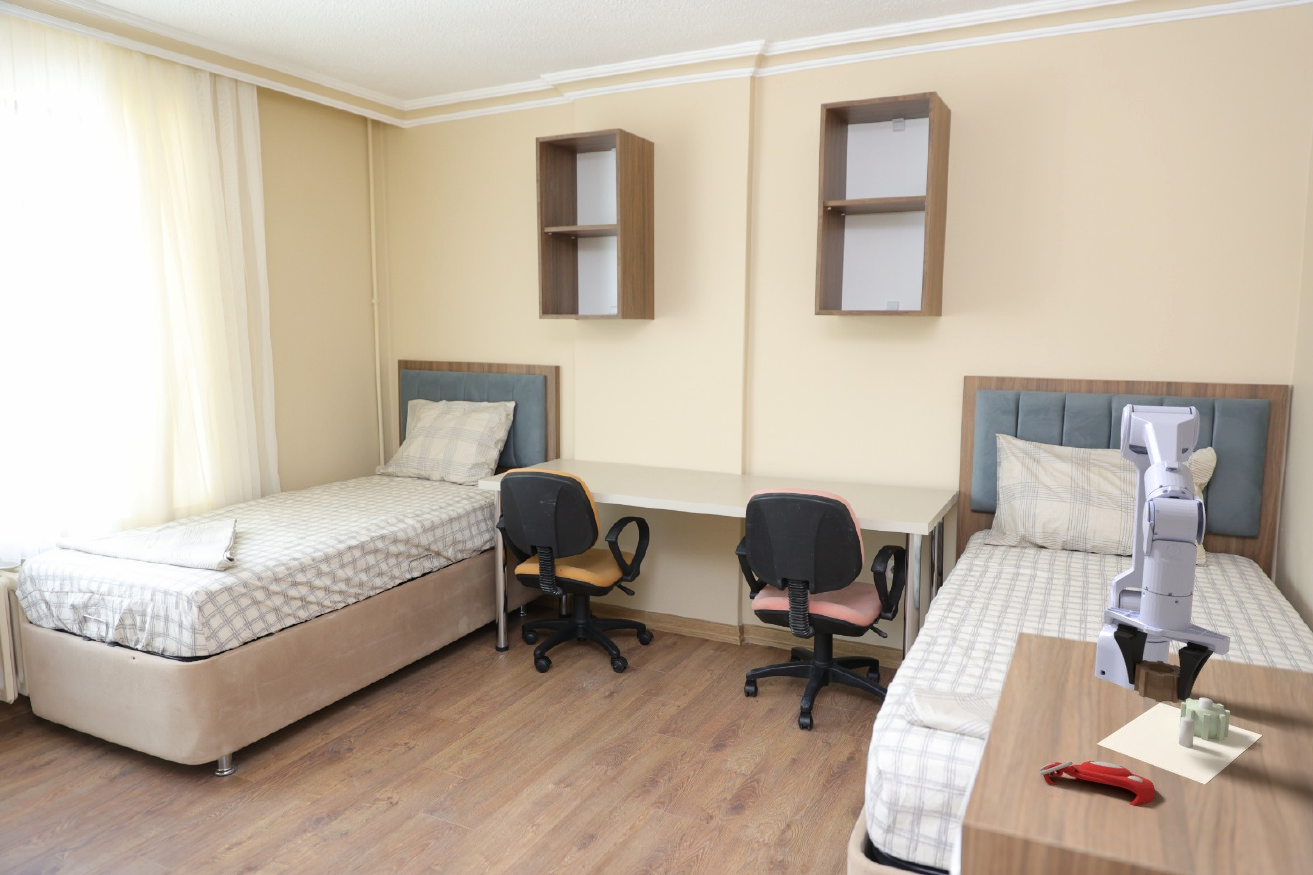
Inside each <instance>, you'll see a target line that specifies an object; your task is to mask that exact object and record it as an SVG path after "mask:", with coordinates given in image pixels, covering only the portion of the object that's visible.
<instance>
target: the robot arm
mask: <svg viewBox="0 0 1313 875" xmlns="http://www.w3.org/2000/svg"><path fill="white" fill-rule="evenodd" d="M1200 423H1201V420H1200V412H1199V410H1198V409H1197V408H1196V407H1195V406H1165V405H1163V406H1160V405H1139V404H1138V405H1137V404H1136V405H1135V404H1131V403H1128V404H1126V405H1125V406H1123V409H1122V414H1121V426H1120V452H1121V457H1122V458H1123V459H1125V460H1127V461H1130V462H1132V463H1133V467H1134V471H1135V474H1136V485H1135V487H1136V488H1135V499H1134V500H1135V504H1134V518H1133V519H1134V521H1133V539H1132V540H1133V541H1132V558H1131V559H1132V560H1131V567H1130V568H1129V569H1126V570H1125V571H1123V572H1121V573H1119V574H1117V575H1115V576H1114V577H1113V579H1112V580H1111V582H1110V591H1109V595H1108V606H1107V607H1108V608H1107V607H1106V608H1105V609H1104V610H1103V624H1106V625H1105V626H1103V628H1102V629H1101V631H1100V632H1099V635H1098V639H1097V642H1096V655H1095V668H1094V677H1095V678H1097V679H1101V680H1103V681H1107V682H1110V683H1112V684H1116V685H1118V686H1120V687H1122V688H1123V689H1124V688H1125V689H1127V690H1131V691H1134V692H1138V693H1139V691H1136V690H1134V685H1135V672H1136V663H1138V664H1141V660H1147V661H1156V662H1157V660H1158V661H1163V663H1167V664H1169V657H1170V656H1169V655H1170V645H1171V644H1170V643H1171V642H1173V641H1175V642H1179V643H1183V644H1186V645H1185V646H1183V647H1181V648H1179V649H1178V661H1179V667H1180V679H1179V687H1178V699H1179V701H1180V700H1181V701H1182V702H1184V701H1185V702H1186V699H1188V698H1190V697H1191V695H1192V691H1193V688H1194V685H1195V683H1196V680H1197V678H1198V676H1199V674H1200V672H1201V671H1202V669H1203V668H1204V666H1205V664H1206V663H1207V662H1208V660H1209V659H1210V658H1211V657H1212V655H1213V654H1217V655H1220V656H1224V655H1226V654H1227V653H1229V652H1230V646H1231V645H1230V644H1231V637H1230V636H1229V635H1224V634H1222V633H1217V632H1215V631H1213V630H1210V629H1207V628H1204V627H1202V626H1199V625H1196V624H1193V623H1191V622H1192V620H1191V619H1192V610H1193V600H1194V599H1193V598H1194V586H1195V576H1196V568H1197V567H1196V565H1197V554H1198V546H1201V544H1202V542H1203V539H1204V535H1205V532H1206V511H1205V510H1206V509H1205V504H1204V500H1203V499H1202V498H1201V496H1198V495H1196V489H1195V481H1194V475H1193V472H1192V471H1191V469H1190V467H1189V466H1187V465H1185V462H1186V463H1187V462H1188V461H1189V459H1190V457H1191V456H1192V455H1193V453H1194V450H1195V447H1196V446H1197V444H1198V441H1199V435H1200ZM1196 543H1197V545H1198V546H1197V545H1196ZM1127 588H1136V589H1141V590H1133V589H1127Z"/></svg>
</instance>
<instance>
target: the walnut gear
mask: <svg viewBox="0 0 1313 875" xmlns="http://www.w3.org/2000/svg"><path fill="white" fill-rule="evenodd" d="M1179 679H1180V665H1176V664H1174V665H1173V664H1170V663H1168V664H1167V663H1163V661H1158V660H1157V662H1156V661H1147V660H1141V664H1138V663H1136V672H1135V685H1134V690H1136V691H1135V692H1138V691H1139V692H1138V696H1140V697H1142V698H1148V699H1151V700H1154V701H1155V702H1158V703H1163V702H1171V703H1173V704H1177V703H1179V702H1180V699H1178V687H1179ZM1134 690H1133V691H1134Z"/></svg>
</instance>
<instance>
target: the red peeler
mask: <svg viewBox="0 0 1313 875" xmlns="http://www.w3.org/2000/svg"><path fill="white" fill-rule="evenodd" d="M1039 771H1040V772H1039V775H1040V776H1043V777H1044V780H1045V781H1046V782H1047V784H1049V785H1053V786H1057V785H1058V784H1057V783H1055V782H1054V781H1053V780H1052V778H1051V777H1050V775H1051V776H1053V777H1058V778H1059V777H1060V778H1061V777H1062V776H1064V774H1065V775H1067V776H1070V777H1072V778H1075V779H1080V780H1084V781H1088V782H1094V783H1098V784H1105V785H1110V786H1113V787H1120V788H1123V789H1126V790H1129V791H1131V792H1132V793H1134V794H1135V795H1136V796H1135V798H1134V799H1133V801H1131V802H1129V803H1128V804H1129V805H1131V806H1133V807H1134V806H1140V805H1145V804H1149V803H1152V802H1153V800H1154V798H1155V795H1156V794H1155V793H1156V789H1155V788H1156V787H1155V786H1154V783H1153V782H1152V781H1151V780H1149V779H1148V778H1146V777H1144V776H1141V775H1138V774H1134V773H1133V772H1131V771H1130V770H1129V769H1127V768H1126V767H1124V766H1122V765H1118V764H1116V763H1111V762H1107V761H1095V760H1092V761H1091V760H1089V761H1084V762H1083V763H1081V764H1073V761H1072V760H1070V761H1067V762H1064V763H1062V762H1060V761H1059V762H1058V761H1055V762H1054V761H1053V762H1051V763H1048V764H1045V765H1043V766H1041V767H1039Z"/></svg>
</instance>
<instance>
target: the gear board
mask: <svg viewBox="0 0 1313 875" xmlns="http://www.w3.org/2000/svg"><path fill="white" fill-rule="evenodd" d="M1224 707H1225V706H1224V705H1223V704H1222V703H1214V700H1212V699H1211V698H1207V697H1199V699H1192V698H1190V697H1189V698H1188V699H1186V700H1185V702H1184V701H1181V704H1180V708H1178V707H1176V706H1172V705H1170V704H1166V703H1163V702H1158V703H1157V704H1155V705H1154V706H1153V707H1151V708H1150V709H1148V710H1146V711H1145V712H1143V713H1141V715H1139V716H1137V717H1136V718H1134V719H1132V720H1131V721H1130V722H1128V723H1126V724H1125V725H1123V726H1122V727H1120V728H1119V729H1117V730H1116V731H1115V732H1112V733H1111V734H1110V735H1108V736H1106V737H1105V738H1104V739H1101V740H1100V741H1099V742H1097V743H1096V745H1097V746H1100V747H1103V748H1106V749H1108V750H1112V751H1113V752H1117V753H1119V754H1122V755H1124V756H1126V757H1130V758H1132V759H1136V760H1139V761H1141V762H1143V763H1145V764H1149V765H1152V766H1155V767H1157V768H1160V769H1162V770H1165V771H1167V772H1170V773H1173V774H1176V775H1178V776H1181V777H1183V778H1186V779H1189V780H1192V781H1195V782H1196V783H1200V784H1203V785H1207V784H1208V783H1209V782H1210V781H1211V780H1213V779H1214V778H1215V777H1216V776H1217V775H1218V774H1219V773H1221V772H1222V771H1223V770H1225V768H1227V766H1229V765H1230V764H1231V763H1232V762H1234V760H1236V759H1238V757H1239V756H1241V755H1242V753H1244V752H1245V751H1246V750H1247V749H1249V747H1251V746H1252V745H1253V744H1255V743H1256V742H1257V741H1258V740H1259V739H1261V738H1262V736H1263V734H1259V733H1257V732H1253V731H1250V730H1247V729H1244V728H1241V727H1238V726H1234V725H1232V724H1230V718H1231V711H1230V710H1228V709H1225V708H1224Z"/></svg>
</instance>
